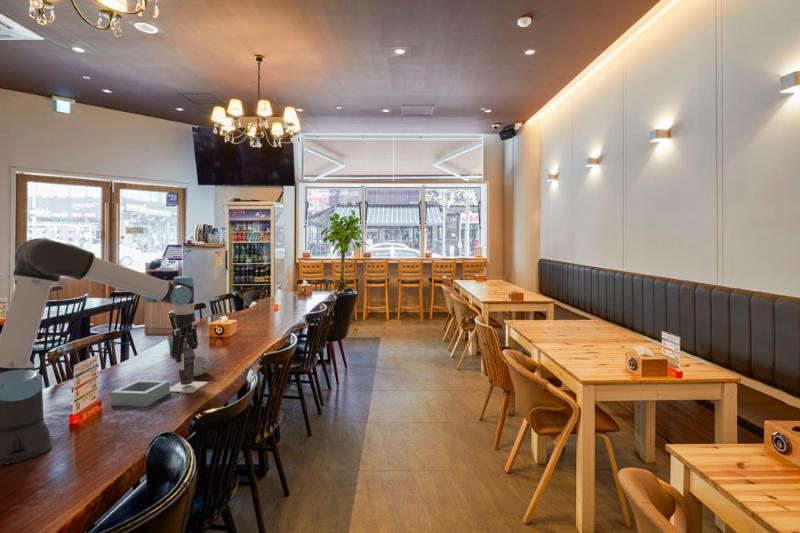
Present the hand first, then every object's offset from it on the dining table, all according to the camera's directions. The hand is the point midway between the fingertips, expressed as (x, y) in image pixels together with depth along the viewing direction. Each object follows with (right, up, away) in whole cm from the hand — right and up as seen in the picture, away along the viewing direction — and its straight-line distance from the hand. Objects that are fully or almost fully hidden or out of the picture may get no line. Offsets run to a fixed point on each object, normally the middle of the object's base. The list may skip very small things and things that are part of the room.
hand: (186, 366), depth 179 cm
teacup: (-3, -8, +17) cm, 19 cm away
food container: (-32, -6, +52) cm, 61 cm away
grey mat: (0, -9, +1) cm, 9 cm away
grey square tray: (-11, -10, -12) cm, 19 cm away
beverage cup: (0, -7, 0) cm, 7 cm away
